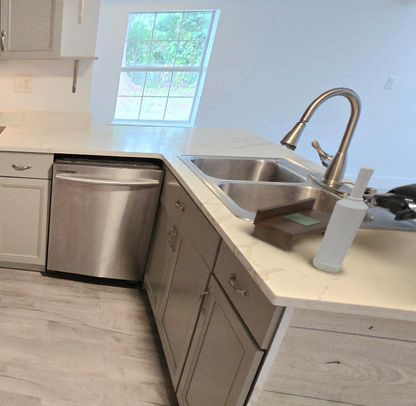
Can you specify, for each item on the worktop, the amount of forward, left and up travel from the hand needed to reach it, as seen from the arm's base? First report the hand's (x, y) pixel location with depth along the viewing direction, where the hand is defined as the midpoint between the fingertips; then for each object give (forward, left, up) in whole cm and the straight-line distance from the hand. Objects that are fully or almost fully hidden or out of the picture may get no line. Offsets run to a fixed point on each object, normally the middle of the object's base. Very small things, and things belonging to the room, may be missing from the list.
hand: (373, 209), depth 85 cm
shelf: (+13, -1, -14) cm, 19 cm away
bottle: (0, +9, -14) cm, 17 cm away
